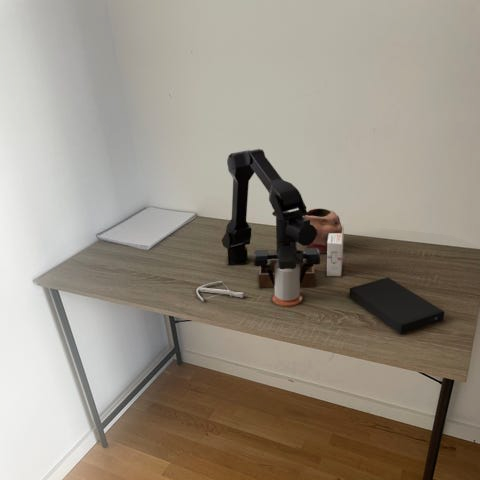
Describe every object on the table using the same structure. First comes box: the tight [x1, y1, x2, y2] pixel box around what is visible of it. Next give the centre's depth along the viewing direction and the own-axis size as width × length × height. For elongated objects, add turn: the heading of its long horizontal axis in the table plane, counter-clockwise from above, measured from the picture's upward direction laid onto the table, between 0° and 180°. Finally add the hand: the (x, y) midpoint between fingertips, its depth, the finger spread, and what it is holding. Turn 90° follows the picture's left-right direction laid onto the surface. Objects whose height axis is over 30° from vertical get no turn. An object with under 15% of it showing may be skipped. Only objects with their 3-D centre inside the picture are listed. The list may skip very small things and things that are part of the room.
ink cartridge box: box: [326, 227, 345, 277], centre depth 151 cm, size 9×5×15 cm, turn 168°
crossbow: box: [195, 280, 245, 302], centre depth 146 cm, size 16×13×2 cm
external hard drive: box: [348, 277, 445, 336], centre depth 132 cm, size 14×23×3 cm, turn 24°
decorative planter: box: [303, 207, 345, 254], centre depth 168 cm, size 20×12×14 cm, turn 60°
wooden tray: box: [258, 260, 316, 289], centre depth 151 cm, size 17×12×5 cm
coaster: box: [272, 293, 303, 307], centre depth 141 cm, size 9×9×1 cm
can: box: [274, 260, 301, 301], centre depth 138 cm, size 8×8×12 cm
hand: (286, 283), depth 138 cm, fingers closed on can, 8 cm apart
